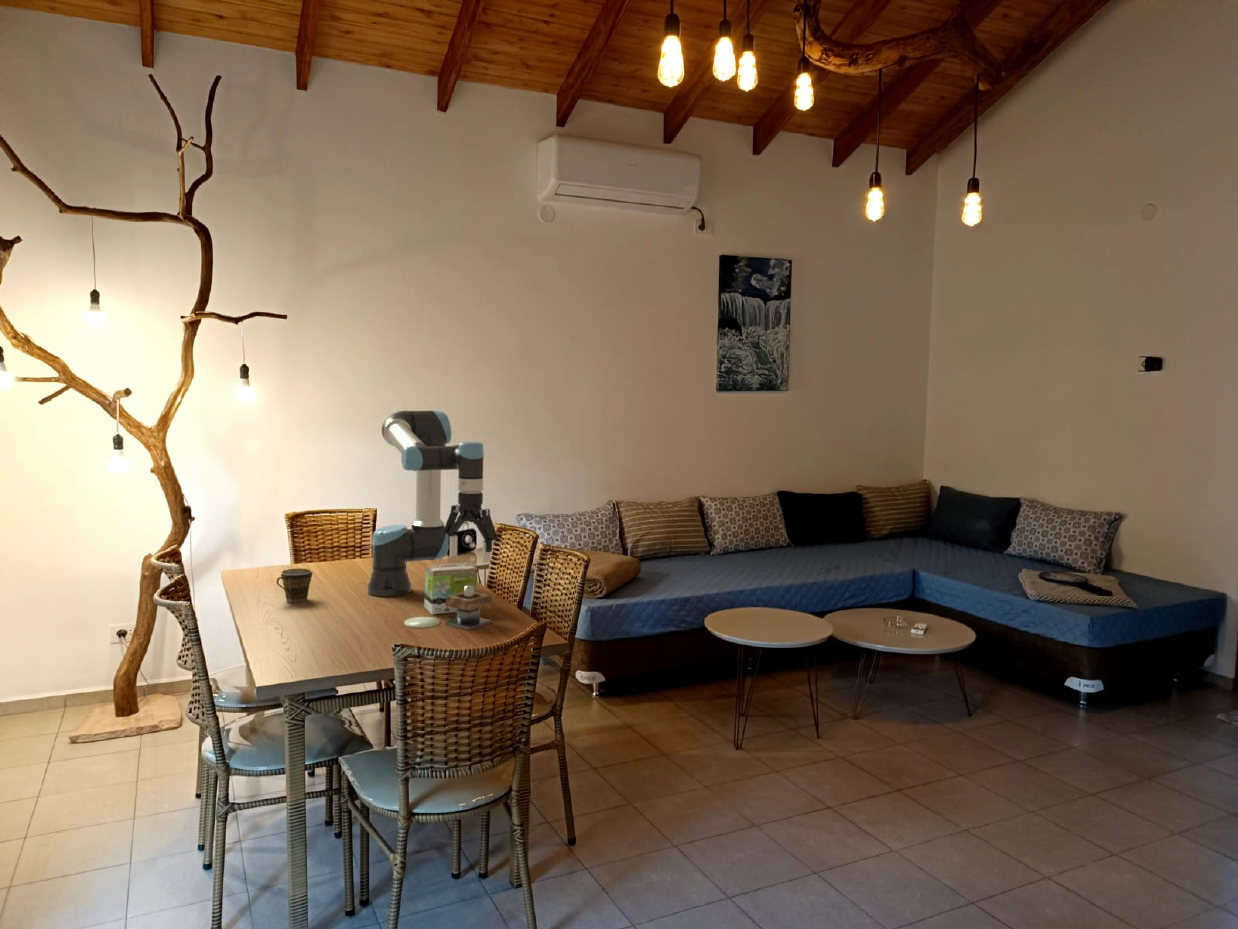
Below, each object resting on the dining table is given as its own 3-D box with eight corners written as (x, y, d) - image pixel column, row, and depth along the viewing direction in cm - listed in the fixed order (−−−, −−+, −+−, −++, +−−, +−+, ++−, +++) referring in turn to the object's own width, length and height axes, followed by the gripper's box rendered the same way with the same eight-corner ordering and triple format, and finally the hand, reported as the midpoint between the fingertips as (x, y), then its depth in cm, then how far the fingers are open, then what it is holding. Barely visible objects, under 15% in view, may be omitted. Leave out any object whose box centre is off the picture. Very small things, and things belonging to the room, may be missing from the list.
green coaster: (396, 623, 269) (396, 622, 269) (422, 616, 278) (422, 614, 278) (422, 630, 263) (422, 628, 263) (447, 622, 273) (447, 620, 273)
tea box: (432, 615, 280) (432, 570, 278) (424, 608, 288) (424, 564, 287) (476, 611, 286) (477, 567, 285) (467, 603, 295) (468, 561, 294)
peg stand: (445, 624, 270) (445, 587, 269) (467, 617, 278) (467, 581, 277) (469, 630, 265) (470, 592, 263) (490, 623, 273) (491, 585, 272)
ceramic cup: (298, 595, 300) (298, 567, 299) (318, 599, 295) (318, 571, 294) (267, 603, 288) (266, 573, 287) (287, 607, 283) (287, 578, 282)
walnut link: (445, 605, 269) (445, 596, 269) (467, 599, 278) (467, 590, 277) (469, 611, 264) (469, 601, 264) (491, 604, 272) (491, 595, 272)
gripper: (432, 489, 271) (431, 555, 273) (493, 496, 258) (492, 566, 260) (448, 487, 277) (448, 552, 279) (509, 494, 264) (508, 562, 266)
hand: (469, 559), depth 269 cm, fingers open, 13 cm apart
